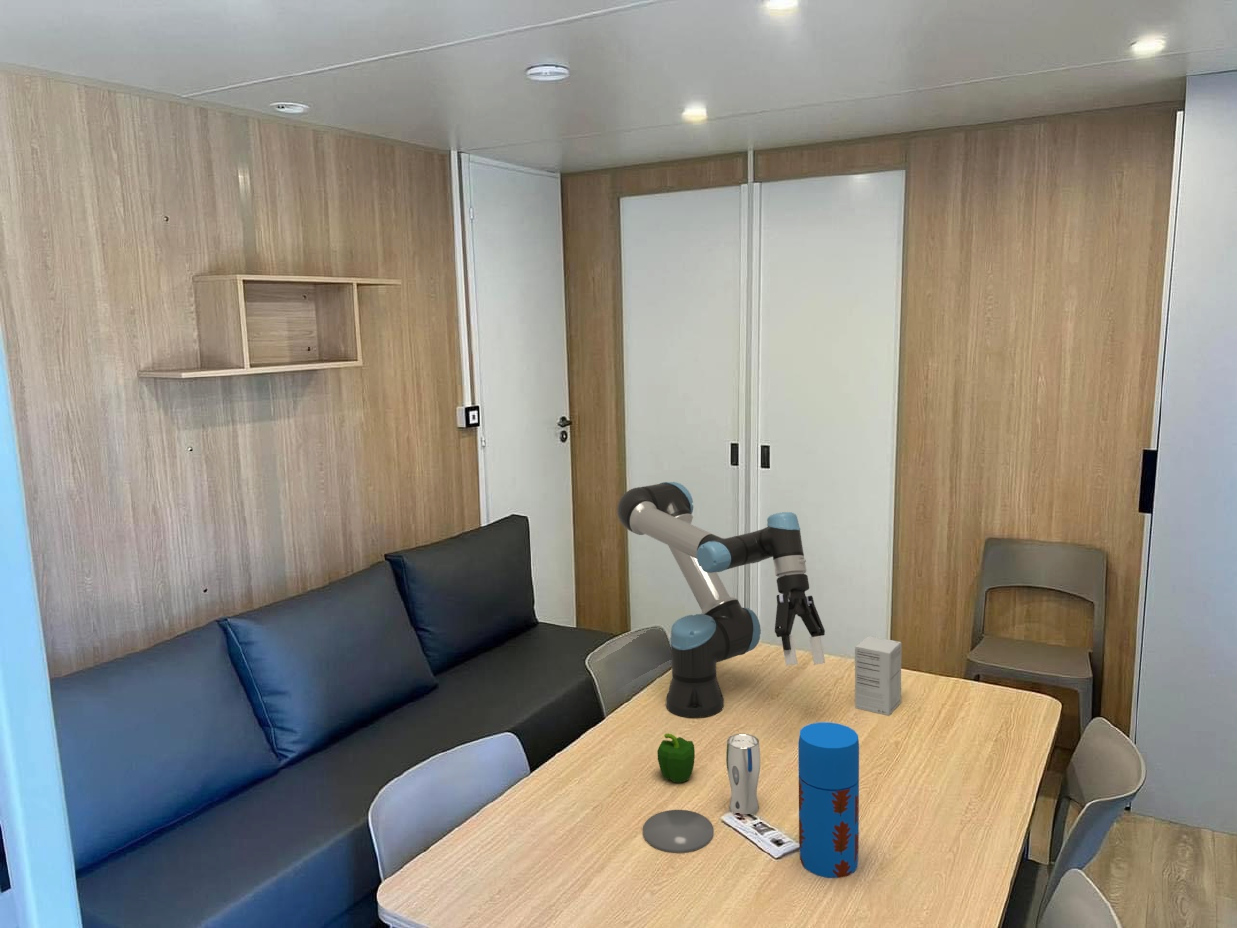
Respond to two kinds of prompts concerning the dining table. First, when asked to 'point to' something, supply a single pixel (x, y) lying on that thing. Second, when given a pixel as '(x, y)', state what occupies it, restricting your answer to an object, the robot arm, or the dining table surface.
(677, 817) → the coaster
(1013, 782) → the dining table surface
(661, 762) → the bell pepper
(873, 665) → the supplement box
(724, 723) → the dining table surface
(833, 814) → the thermos
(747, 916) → the dining table surface
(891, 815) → the dining table surface
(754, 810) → the metal tumbler
